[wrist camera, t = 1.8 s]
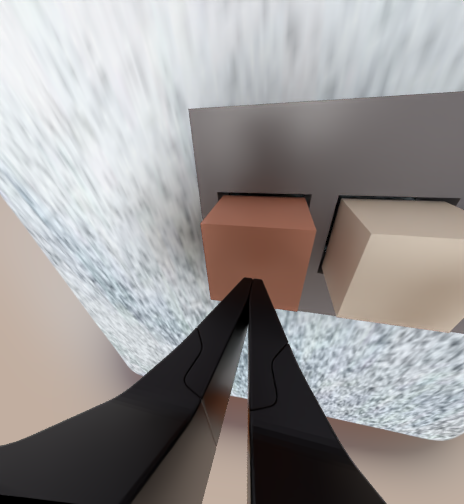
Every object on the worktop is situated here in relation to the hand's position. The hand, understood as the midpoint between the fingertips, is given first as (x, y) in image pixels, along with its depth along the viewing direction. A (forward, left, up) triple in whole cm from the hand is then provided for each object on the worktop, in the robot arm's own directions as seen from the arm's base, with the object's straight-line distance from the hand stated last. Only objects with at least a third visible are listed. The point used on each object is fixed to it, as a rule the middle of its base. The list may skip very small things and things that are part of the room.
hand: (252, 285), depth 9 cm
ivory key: (-7, 0, -5) cm, 9 cm away
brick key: (0, 0, -5) cm, 5 cm away
